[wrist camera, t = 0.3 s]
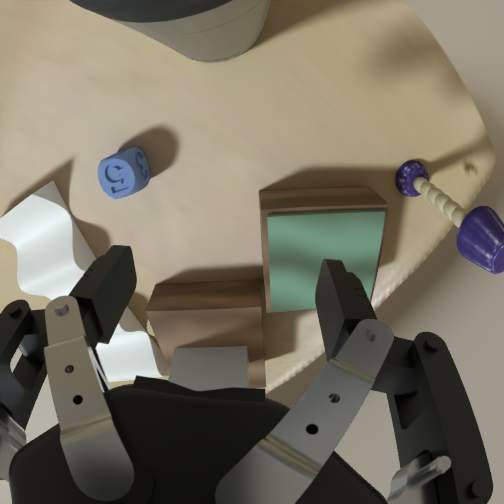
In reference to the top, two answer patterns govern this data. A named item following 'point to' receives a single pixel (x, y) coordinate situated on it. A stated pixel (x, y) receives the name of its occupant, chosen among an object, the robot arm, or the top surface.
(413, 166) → the toy lamp
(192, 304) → the brown wooden flat slab
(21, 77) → the top surface
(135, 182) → the decorative dice
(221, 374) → the block
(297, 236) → the plinth
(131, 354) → the white corrugated sheet
